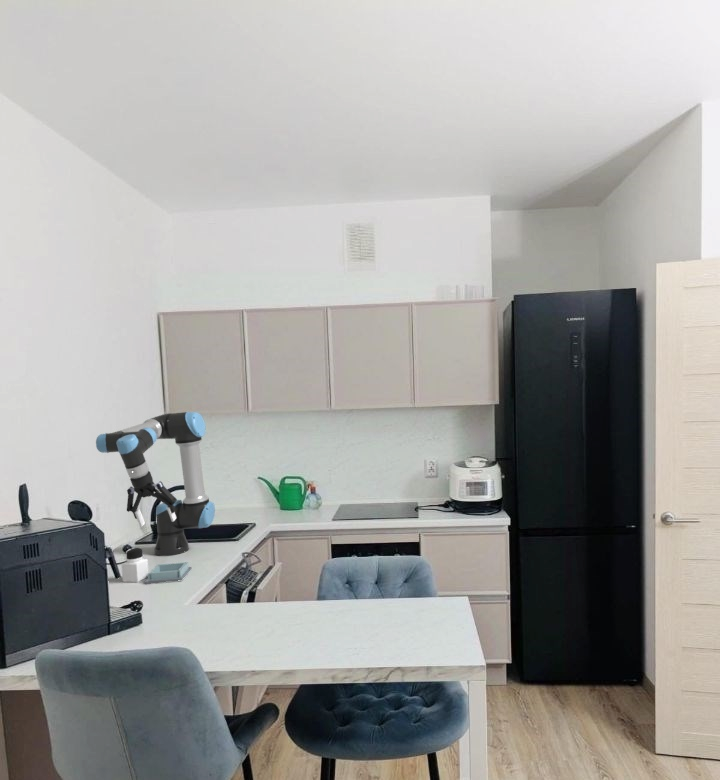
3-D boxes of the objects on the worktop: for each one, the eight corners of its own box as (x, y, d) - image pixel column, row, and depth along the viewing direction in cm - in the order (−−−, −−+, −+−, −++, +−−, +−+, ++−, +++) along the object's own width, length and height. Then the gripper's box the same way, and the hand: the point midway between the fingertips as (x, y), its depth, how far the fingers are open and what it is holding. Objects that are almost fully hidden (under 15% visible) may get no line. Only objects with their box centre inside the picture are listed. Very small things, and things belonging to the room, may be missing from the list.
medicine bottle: (149, 576, 237) (147, 546, 237) (137, 582, 230) (135, 551, 230) (133, 576, 239) (132, 546, 239) (122, 582, 232) (120, 551, 232)
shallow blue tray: (157, 572, 242) (156, 563, 242) (191, 569, 243) (191, 560, 243) (144, 584, 226) (144, 575, 226) (181, 581, 227) (181, 572, 227)
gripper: (105, 484, 224) (125, 532, 230) (165, 473, 219) (183, 522, 225) (115, 475, 231) (134, 522, 237) (173, 464, 226) (191, 512, 232)
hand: (158, 522), depth 231 cm, fingers open, 13 cm apart
